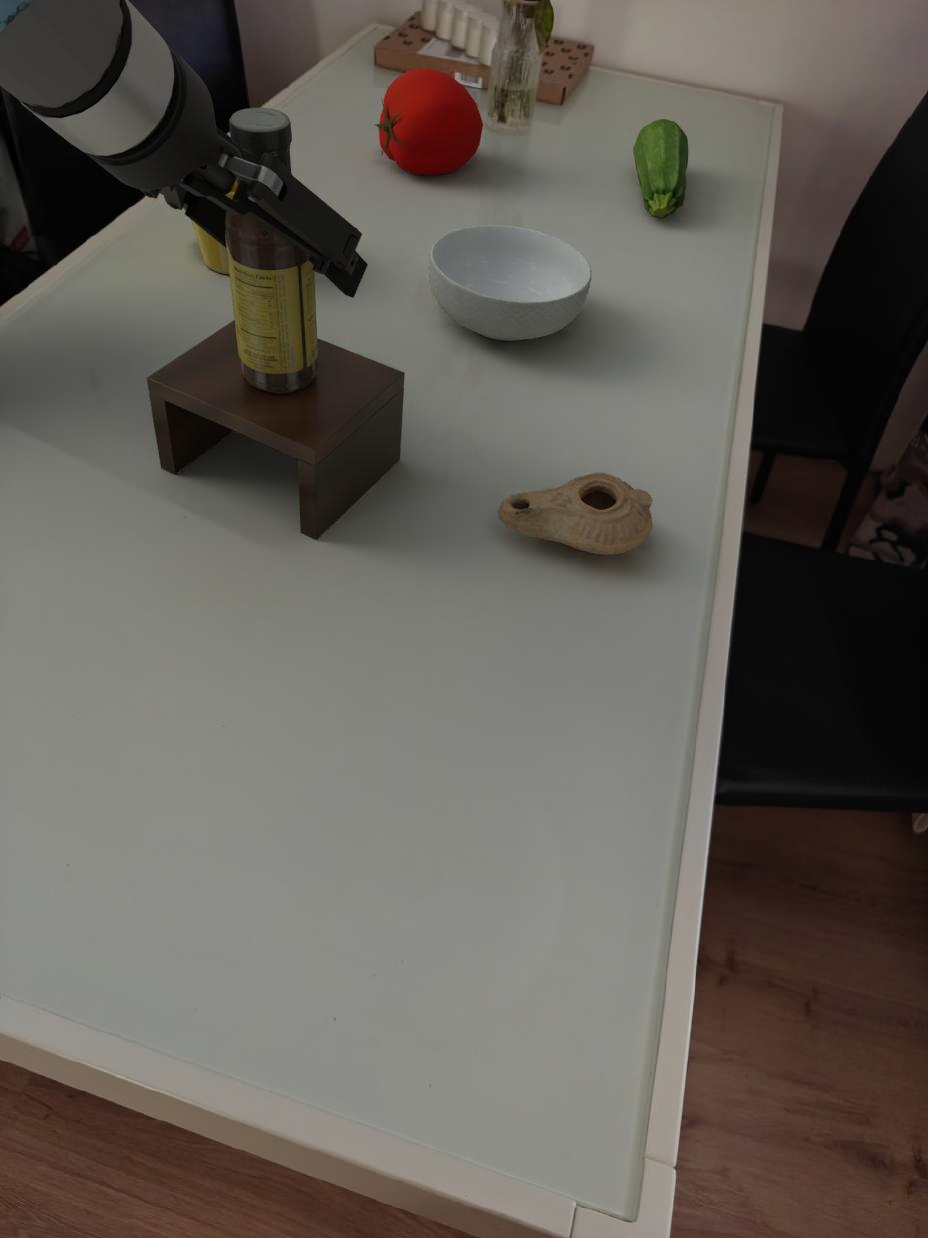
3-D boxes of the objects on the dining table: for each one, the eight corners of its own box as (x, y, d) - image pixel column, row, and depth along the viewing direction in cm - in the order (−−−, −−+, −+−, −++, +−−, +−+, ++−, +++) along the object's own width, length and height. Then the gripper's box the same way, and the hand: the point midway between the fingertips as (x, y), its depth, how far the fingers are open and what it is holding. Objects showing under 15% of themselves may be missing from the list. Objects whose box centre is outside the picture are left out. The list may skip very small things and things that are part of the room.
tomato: (460, 176, 138) (375, 192, 133) (439, 77, 134) (350, 89, 129) (506, 155, 127) (415, 172, 122) (484, 46, 123) (390, 58, 118)
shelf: (160, 468, 85) (146, 377, 78) (254, 397, 93) (248, 309, 86) (316, 540, 80) (314, 450, 74) (400, 459, 88) (405, 372, 82)
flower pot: (248, 230, 115) (242, 143, 108) (301, 267, 110) (298, 179, 103) (169, 253, 110) (157, 163, 103) (221, 293, 105) (212, 202, 98)
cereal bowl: (611, 345, 105) (625, 283, 100) (477, 380, 98) (485, 315, 93) (524, 271, 115) (533, 211, 109) (397, 298, 108) (400, 235, 103)
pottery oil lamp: (486, 501, 85) (523, 427, 82) (608, 551, 88) (647, 481, 85) (498, 539, 77) (539, 458, 74) (631, 593, 80) (675, 517, 78)
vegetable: (681, 102, 133) (687, 164, 120) (692, 154, 138) (699, 219, 124) (627, 121, 136) (627, 183, 122) (640, 172, 140) (642, 237, 127)
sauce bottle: (284, 345, 83) (273, 90, 69) (334, 378, 80) (333, 121, 66) (221, 371, 80) (195, 109, 65) (271, 407, 77) (255, 142, 62)
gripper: (319, 81, 51) (445, 257, 72) (-8, -21, 57) (198, 169, 78) (262, 218, 51) (404, 352, 73) (-56, 103, 58) (161, 258, 79)
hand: (297, 257), depth 76 cm, fingers open, 10 cm apart
